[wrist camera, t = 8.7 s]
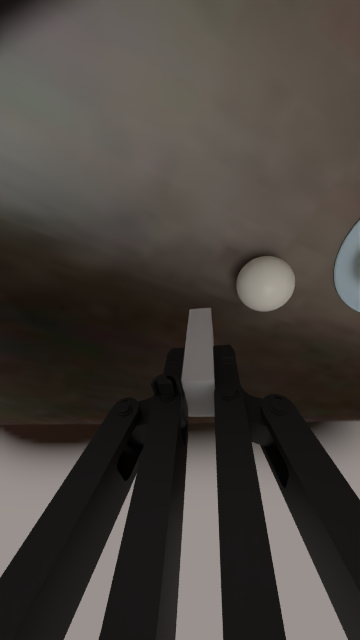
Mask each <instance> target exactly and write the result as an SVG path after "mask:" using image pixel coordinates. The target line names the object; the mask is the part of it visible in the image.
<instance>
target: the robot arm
mask: <svg viewBox="0 0 360 640" xmlns="http://www.w3.org/2000/svg"><path fill="white" fill-rule="evenodd" d="M151 386H152V389H153V392H154V396H153V397H151V398H149V399H146V400H143V401H140V402H137V400H136V399H134V398H124V399H121V400H120V401H118V402H117V403H116V404H115V405H114V406H113V408H112V409H111V411H110V412H109V414H108V415H107V417H106V418H105V420H104V421H103V423H102V424H101V426H100V427H99V429H98V431H97V432H96V434H95V435H94V437H93V438H92V440H91V441H90V443H89V444H88V446H87V447H86V449H85V450H84V452H83V453H82V455H81V456H80V458H79V459H78V461H77V462H76V464H75V465H74V467H73V469H72V470H71V471H70V473H69V475H68V476H67V478H66V479H65V480H64V482H63V484H62V485H61V487H60V488H59V490H58V491H57V493H56V494H55V496H54V497H53V499H52V500H51V502H50V503H49V505H48V506H47V508H46V509H45V511H44V512H43V514H42V516H41V517H40V518H39V520H38V521H37V523H36V524H35V526H34V528H33V529H32V531H31V532H30V534H29V535H28V537H27V538H26V540H25V541H24V543H23V544H22V546H21V548H20V549H19V551H18V552H17V553H16V555H15V556H14V558H13V559H12V561H11V562H10V564H9V565H8V567H7V569H6V570H5V572H4V573H3V575H2V576H1V578H0V640H64V638H65V635H66V633H67V631H68V628H69V626H70V624H71V622H72V619H73V617H74V615H75V612H76V610H77V608H78V606H79V603H80V601H81V599H82V597H83V594H84V592H85V590H86V587H87V585H88V583H89V581H90V578H91V576H92V574H93V572H94V569H95V567H96V565H97V562H98V560H99V558H100V556H101V553H102V551H103V549H104V546H105V544H106V542H107V540H108V537H109V535H110V533H111V531H112V528H113V526H114V523H115V521H116V519H117V517H118V515H119V512H120V510H121V508H122V505H123V503H124V501H125V499H126V496H127V494H128V492H129V490H130V487H131V485H132V483H133V480H134V478H135V476H136V480H135V484H134V489H133V493H132V497H131V502H130V506H129V511H128V515H127V519H126V524H125V528H124V533H123V537H122V541H121V546H120V550H119V555H118V559H117V563H116V567H115V572H114V576H113V581H112V585H111V589H110V594H109V598H108V603H107V607H106V611H105V616H104V620H103V624H102V629H101V633H100V636H99V640H175V633H176V617H177V603H178V587H179V586H178V585H179V571H180V555H181V539H182V522H183V507H184V491H185V475H186V459H187V444H188V421H187V418H188V415H189V417H205V416H215V435H216V461H217V488H218V513H219V540H220V564H221V565H220V566H221V589H222V590H221V592H222V617H223V640H286V637H285V631H284V625H283V620H282V614H281V608H280V602H279V596H278V591H277V585H276V580H275V574H274V568H273V562H272V556H271V551H270V545H269V539H268V534H267V528H266V522H265V516H264V511H263V505H262V499H261V493H260V488H259V482H258V476H257V470H256V465H255V460H254V454H253V448H252V442H254V443H257V444H260V446H261V448H262V450H263V453H264V455H265V457H266V459H267V461H268V463H269V466H270V468H271V470H272V472H273V475H274V477H275V479H276V481H277V483H278V485H279V488H280V490H281V492H282V494H283V497H284V499H285V501H286V503H287V505H288V508H289V510H290V512H291V514H292V517H293V519H294V521H295V523H296V525H297V528H298V530H299V532H300V534H301V536H302V538H303V541H304V543H305V545H306V547H307V550H308V552H309V554H310V556H311V558H312V561H313V563H314V565H315V567H316V570H317V572H318V574H319V576H320V578H321V581H322V583H323V585H324V587H325V589H326V591H327V594H328V596H329V598H330V600H331V603H332V604H333V607H334V609H335V612H336V614H337V616H338V618H339V620H340V623H341V625H342V627H343V629H344V631H345V634H346V636H347V638H348V640H360V500H359V498H358V497H357V495H356V494H355V492H354V491H353V490H352V488H351V487H350V485H349V484H348V482H347V481H346V479H345V478H344V477H343V475H342V474H341V473H340V471H339V469H338V468H337V466H336V465H335V464H334V462H333V461H332V459H331V458H330V456H329V455H328V454H327V452H326V451H325V449H324V448H323V446H322V445H321V443H320V442H319V440H318V439H317V438H316V436H315V435H314V433H313V432H312V431H311V429H310V428H309V426H308V425H307V423H306V422H305V420H304V419H303V417H302V416H301V415H300V413H299V412H298V410H297V409H296V407H295V406H294V404H293V403H292V402H291V401H290V400H289V399H287V398H286V397H284V396H281V395H277V394H273V395H268V396H266V397H265V398H264V399H262V398H258V397H254V396H251V395H249V394H248V393H246V392H245V391H244V390H243V389H242V387H241V385H240V381H239V375H238V369H237V364H236V358H235V352H234V349H233V348H232V347H231V346H230V345H218V346H214V340H213V328H212V316H211V308H201V309H190V311H189V319H188V328H187V336H186V345H185V348H173V349H171V350H170V352H169V353H168V354H167V359H166V364H165V368H164V373H163V374H161V375H159V376H157V377H156V378H155V379H154V380H153V381H152V383H151ZM136 474H137V475H136Z"/></svg>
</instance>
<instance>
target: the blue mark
mask: <svg viewBox="0 0 360 640" xmlns="http://www.w3.org/2000/svg"><path fill="white" fill-rule="evenodd" d="M334 283H335V287H336V290H337V293H338V294H339V296H340V297H341V299H342V300H343V301H344V302H345V303H346V304H347V305H348V306H350V307H351V308H352V309H354V310H356V311H358V312H360V219H359V220H358V222H357V223H356V224H355V225H354V226H353V228H352V229H351V230H350V232H349V233H348V235H347V236H346V238H345V240H344V241H343V243H342V245H341V247H340V250H339V252H338V254H337V258H336V261H335V266H334Z"/></svg>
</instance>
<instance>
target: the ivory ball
mask: <svg viewBox="0 0 360 640" xmlns="http://www.w3.org/2000/svg"><path fill="white" fill-rule="evenodd" d="M236 288H237V293H238V296H239V298H240V299H241V301H242V302H243V303H244V304H245V305H246V306H248V307H249V308H251V309H253V310H257V311H271V310H275V309H277V308H279V307H281V306H282V305H284V304H285V303H286V302H287V301H288V300H289V299H290V297H291V295H292V294H293V291H294V288H295V276H294V273H293V271H292V269H291V267H290V266H289V265H288V264H287V263H286V262H285V261H283V260H282V259H280V258H277V257H273V256H261V257H258V258H255V259H253V260H251V261H249V262H248V263H247V264H246V265H245V266H244V267H243V268H242V269H241V271H240V273H239V275H238V277H237V282H236Z"/></svg>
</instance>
